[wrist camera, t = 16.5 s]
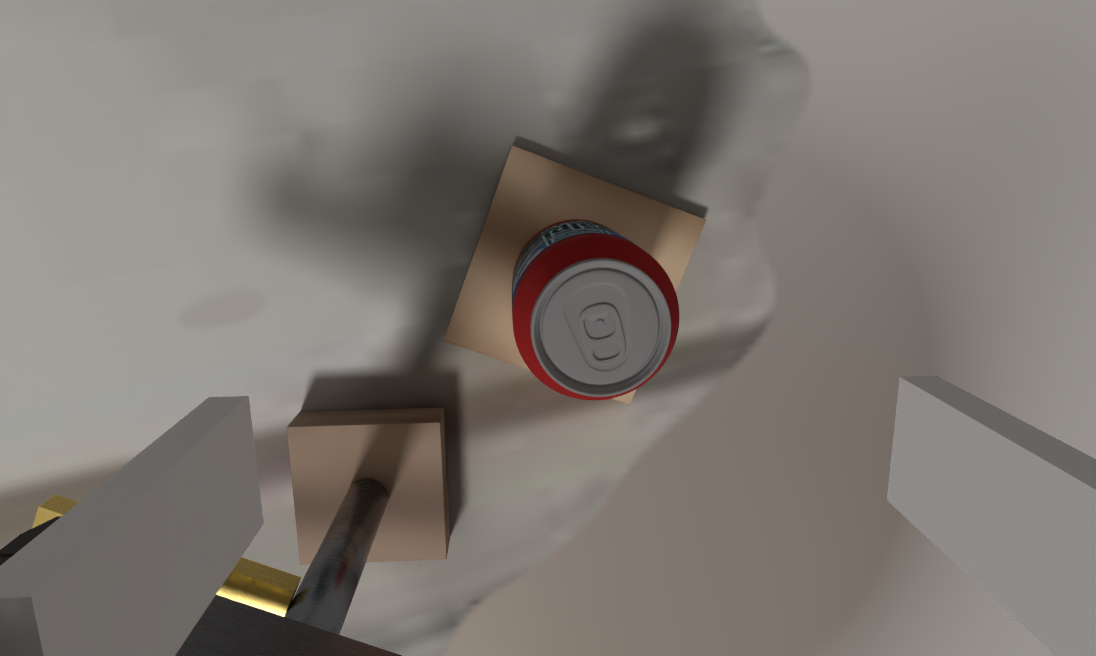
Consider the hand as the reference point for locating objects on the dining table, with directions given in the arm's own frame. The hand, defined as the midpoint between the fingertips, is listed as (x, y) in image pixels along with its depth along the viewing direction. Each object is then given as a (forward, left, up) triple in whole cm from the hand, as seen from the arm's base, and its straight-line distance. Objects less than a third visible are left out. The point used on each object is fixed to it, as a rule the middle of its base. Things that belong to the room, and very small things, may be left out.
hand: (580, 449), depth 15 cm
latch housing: (+14, -5, -25) cm, 29 cm away
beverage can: (0, +2, -25) cm, 25 cm away
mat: (0, +2, -25) cm, 25 cm away
